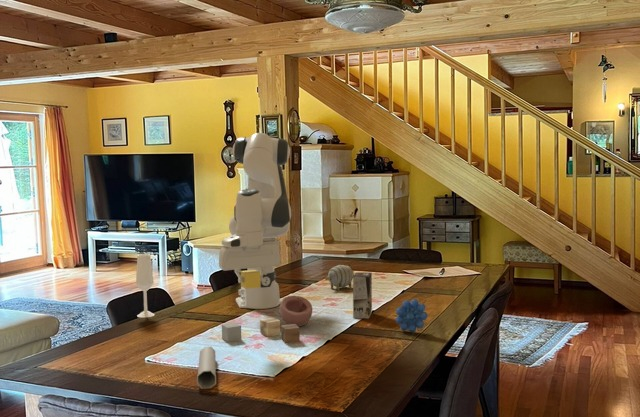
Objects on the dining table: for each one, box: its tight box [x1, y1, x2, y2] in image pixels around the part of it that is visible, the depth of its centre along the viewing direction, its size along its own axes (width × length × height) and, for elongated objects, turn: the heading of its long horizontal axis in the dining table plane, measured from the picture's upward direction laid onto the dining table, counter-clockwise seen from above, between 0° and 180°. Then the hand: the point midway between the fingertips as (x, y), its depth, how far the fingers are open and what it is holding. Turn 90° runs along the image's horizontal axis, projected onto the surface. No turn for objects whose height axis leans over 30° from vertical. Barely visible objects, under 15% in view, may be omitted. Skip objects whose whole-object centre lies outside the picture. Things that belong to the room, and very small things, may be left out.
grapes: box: [395, 298, 429, 334], centre depth 221 cm, size 12×7×12 cm, turn 62°
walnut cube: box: [280, 324, 301, 345], centre depth 212 cm, size 5×5×5 cm
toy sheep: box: [324, 264, 355, 291], centre depth 294 cm, size 11×17×11 cm, turn 134°
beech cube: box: [259, 317, 281, 338], centre depth 221 cm, size 5×5×5 cm
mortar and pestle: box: [278, 295, 313, 327], centre depth 230 cm, size 12×12×12 cm
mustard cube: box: [240, 270, 261, 289], centre depth 207 cm, size 5×5×5 cm
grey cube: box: [221, 322, 242, 343], centre depth 215 cm, size 5×5×5 cm
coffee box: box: [352, 272, 373, 319], centre depth 244 cm, size 9×6×16 cm
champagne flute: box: [135, 253, 155, 318], centre depth 248 cm, size 7×7×24 cm
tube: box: [196, 346, 217, 390], centre depth 182 cm, size 5×5×25 cm
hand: (250, 281), depth 207 cm, fingers closed on mustard cube, 5 cm apart
